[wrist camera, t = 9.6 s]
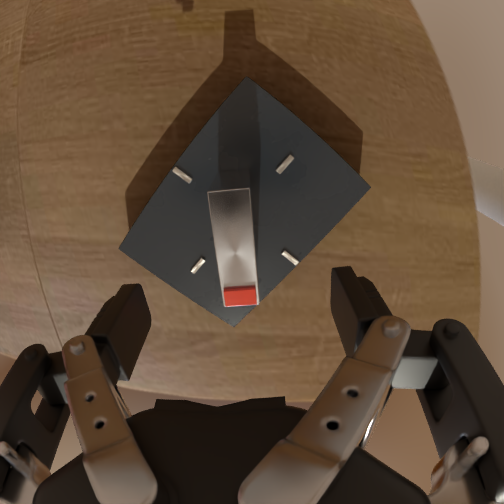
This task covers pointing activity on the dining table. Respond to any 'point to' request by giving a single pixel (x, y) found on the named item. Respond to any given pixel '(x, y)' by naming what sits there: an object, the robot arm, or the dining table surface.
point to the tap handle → (234, 237)
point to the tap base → (263, 198)
